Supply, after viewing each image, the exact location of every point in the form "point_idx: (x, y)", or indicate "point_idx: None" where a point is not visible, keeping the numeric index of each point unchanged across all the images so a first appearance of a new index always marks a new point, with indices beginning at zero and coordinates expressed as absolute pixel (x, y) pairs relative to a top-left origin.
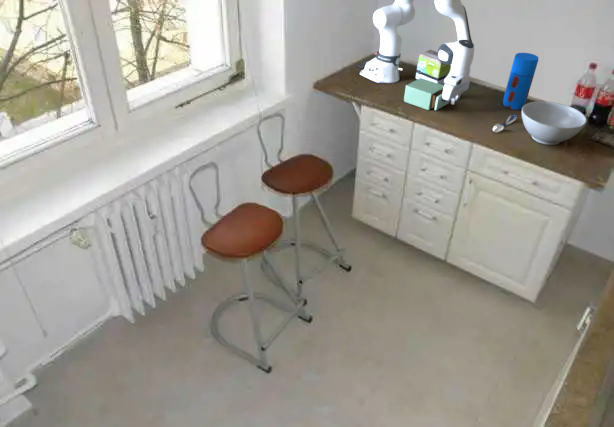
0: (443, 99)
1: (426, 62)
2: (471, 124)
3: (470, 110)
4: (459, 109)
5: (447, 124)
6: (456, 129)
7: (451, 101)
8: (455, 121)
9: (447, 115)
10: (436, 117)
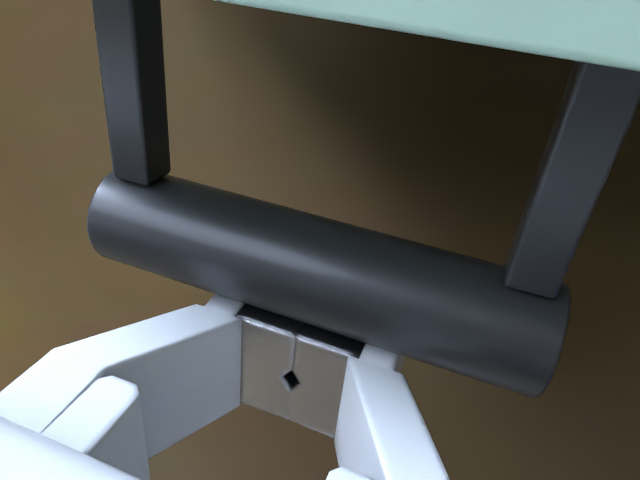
0: (128, 44)
1: None
2: (202, 460)
3: (636, 474)
4: (585, 315)
5: (7, 242)
6: (7, 340)
7: (223, 302)
8: (134, 311)
9: (207, 178)
10: (25, 42)
